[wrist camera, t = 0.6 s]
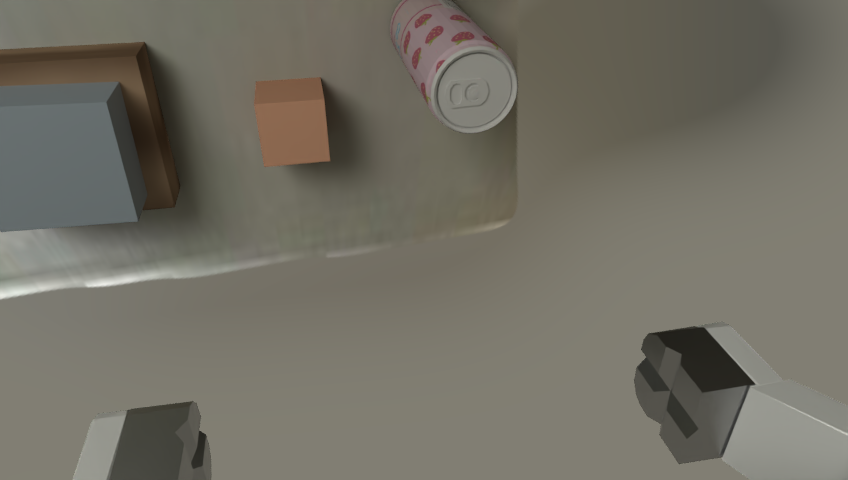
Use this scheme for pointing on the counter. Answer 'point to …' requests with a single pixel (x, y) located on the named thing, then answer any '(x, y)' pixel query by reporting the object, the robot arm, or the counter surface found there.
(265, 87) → the rust cube
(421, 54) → the beverage can
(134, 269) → the counter surface
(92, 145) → the grey block
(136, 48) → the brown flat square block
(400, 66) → the counter surface
